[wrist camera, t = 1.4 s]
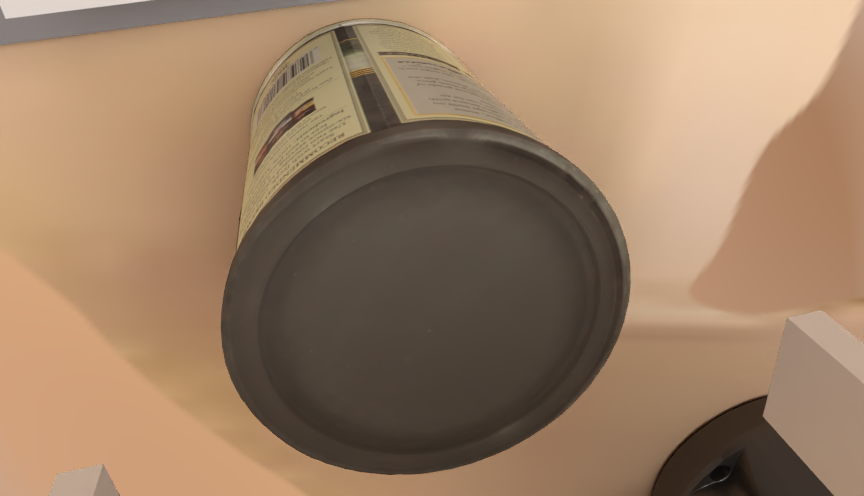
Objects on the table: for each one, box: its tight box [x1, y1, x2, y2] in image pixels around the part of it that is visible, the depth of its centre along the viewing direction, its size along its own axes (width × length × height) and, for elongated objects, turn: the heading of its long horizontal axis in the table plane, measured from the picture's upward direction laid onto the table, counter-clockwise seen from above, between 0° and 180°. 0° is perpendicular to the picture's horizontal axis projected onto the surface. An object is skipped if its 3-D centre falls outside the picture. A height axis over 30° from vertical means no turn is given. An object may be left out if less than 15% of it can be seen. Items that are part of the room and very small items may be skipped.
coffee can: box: [221, 19, 630, 475], centre depth 22 cm, size 10×10×14 cm
